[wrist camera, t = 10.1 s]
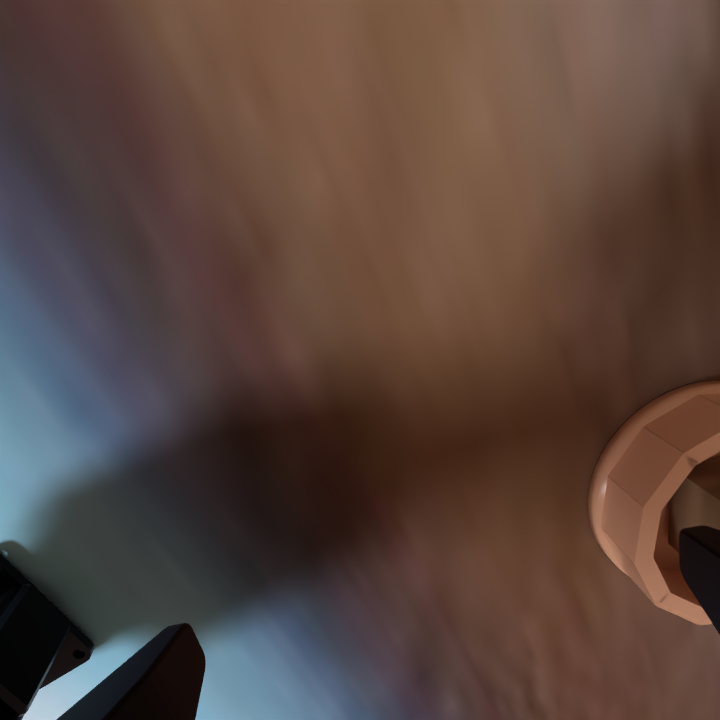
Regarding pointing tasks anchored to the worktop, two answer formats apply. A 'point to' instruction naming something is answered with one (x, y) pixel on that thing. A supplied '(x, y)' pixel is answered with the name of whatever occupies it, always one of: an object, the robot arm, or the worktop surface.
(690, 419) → the tan shallow dish
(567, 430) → the worktop surface
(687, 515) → the tall square post
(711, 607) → the robot arm
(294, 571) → the worktop surface
